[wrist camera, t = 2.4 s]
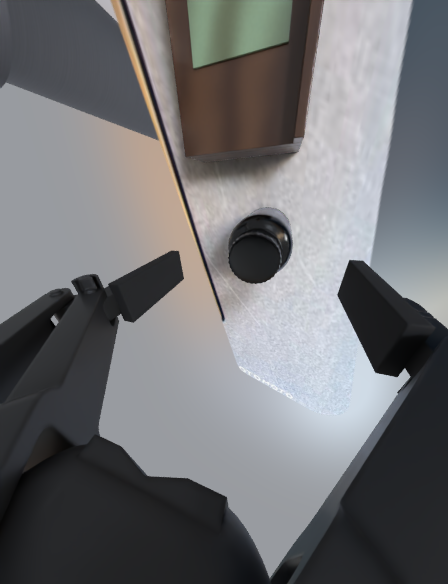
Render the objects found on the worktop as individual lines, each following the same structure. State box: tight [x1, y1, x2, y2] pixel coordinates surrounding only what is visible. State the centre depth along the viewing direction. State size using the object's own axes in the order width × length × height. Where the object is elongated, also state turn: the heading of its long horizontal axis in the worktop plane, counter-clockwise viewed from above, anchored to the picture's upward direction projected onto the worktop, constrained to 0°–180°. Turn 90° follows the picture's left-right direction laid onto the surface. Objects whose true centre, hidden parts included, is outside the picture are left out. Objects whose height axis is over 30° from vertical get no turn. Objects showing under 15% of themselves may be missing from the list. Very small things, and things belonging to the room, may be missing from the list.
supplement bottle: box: [228, 207, 293, 284], centre depth 20 cm, size 7×7×12 cm
